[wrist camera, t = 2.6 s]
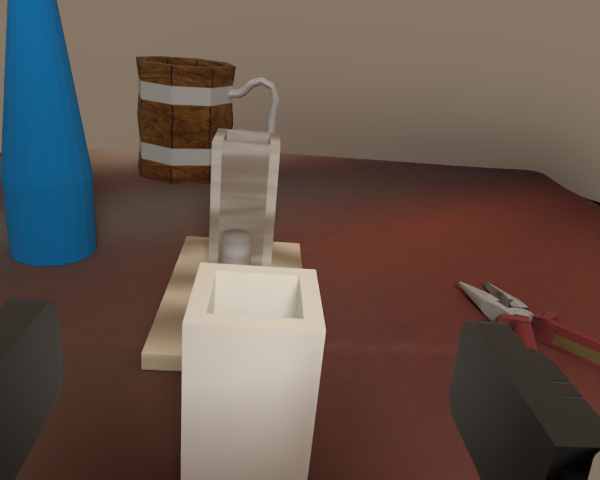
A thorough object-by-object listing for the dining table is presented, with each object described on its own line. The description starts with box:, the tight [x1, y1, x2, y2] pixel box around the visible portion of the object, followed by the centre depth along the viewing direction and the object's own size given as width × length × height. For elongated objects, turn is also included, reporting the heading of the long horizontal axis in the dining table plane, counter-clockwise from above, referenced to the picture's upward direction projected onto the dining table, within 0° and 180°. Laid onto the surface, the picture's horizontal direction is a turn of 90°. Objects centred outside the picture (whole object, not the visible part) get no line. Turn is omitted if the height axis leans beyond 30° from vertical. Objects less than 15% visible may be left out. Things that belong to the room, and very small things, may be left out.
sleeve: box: [181, 262, 326, 480], centre depth 25 cm, size 5×5×11 cm
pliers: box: [458, 281, 600, 370], centre depth 42 cm, size 12×20×3 cm, turn 15°
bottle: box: [1, 0, 96, 266], centre depth 45 cm, size 7×7×30 cm
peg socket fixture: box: [141, 128, 302, 371], centre depth 43 cm, size 20×11×12 cm, turn 3°
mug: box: [136, 56, 279, 184], centre depth 76 cm, size 20×14×15 cm
